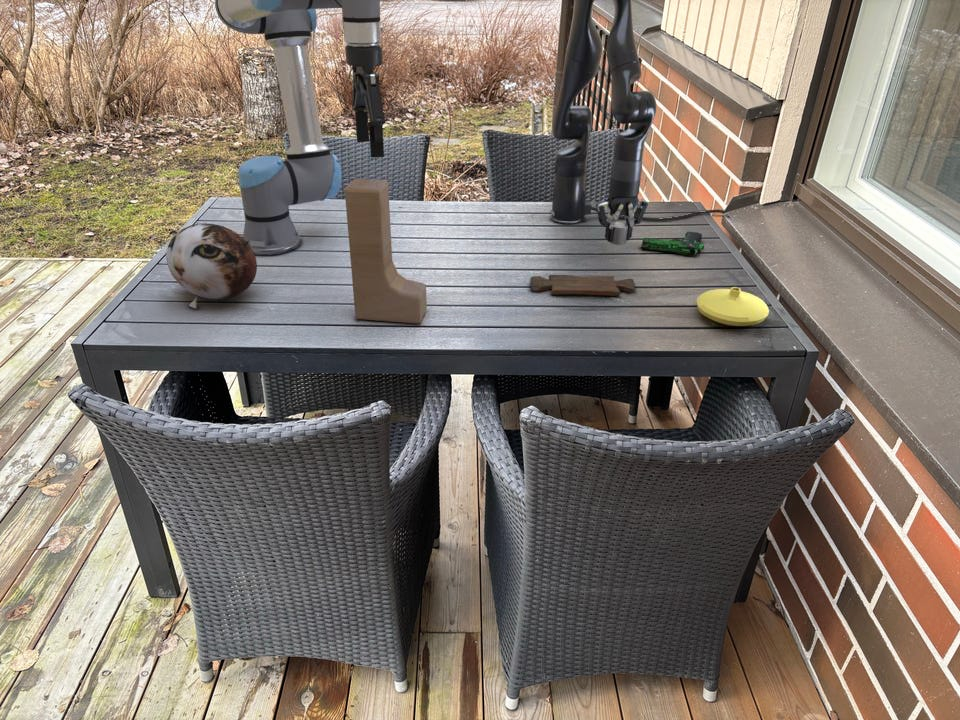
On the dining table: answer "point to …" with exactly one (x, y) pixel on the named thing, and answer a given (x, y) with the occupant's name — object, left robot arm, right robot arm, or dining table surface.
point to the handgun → (676, 244)
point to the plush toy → (211, 261)
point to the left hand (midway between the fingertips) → (370, 149)
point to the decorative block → (378, 258)
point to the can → (619, 233)
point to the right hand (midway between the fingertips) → (617, 239)
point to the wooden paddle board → (581, 285)
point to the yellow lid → (732, 307)
